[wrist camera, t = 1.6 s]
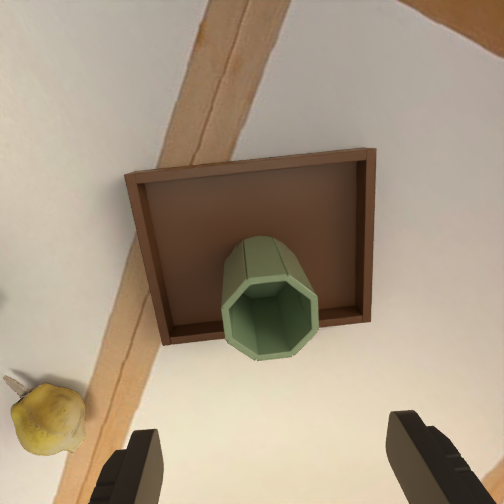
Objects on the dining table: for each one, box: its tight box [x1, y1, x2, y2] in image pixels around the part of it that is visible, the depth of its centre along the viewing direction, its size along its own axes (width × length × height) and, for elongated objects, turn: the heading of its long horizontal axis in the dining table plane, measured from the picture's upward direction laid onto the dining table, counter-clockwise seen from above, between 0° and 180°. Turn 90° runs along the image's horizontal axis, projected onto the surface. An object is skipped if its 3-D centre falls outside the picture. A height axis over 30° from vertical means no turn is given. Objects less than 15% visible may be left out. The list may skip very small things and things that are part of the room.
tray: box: [124, 148, 376, 346], centre depth 29 cm, size 20×16×3 cm
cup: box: [221, 236, 319, 361], centre depth 26 cm, size 6×6×9 cm
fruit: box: [3, 375, 85, 456], centre depth 32 cm, size 6×6×10 cm
